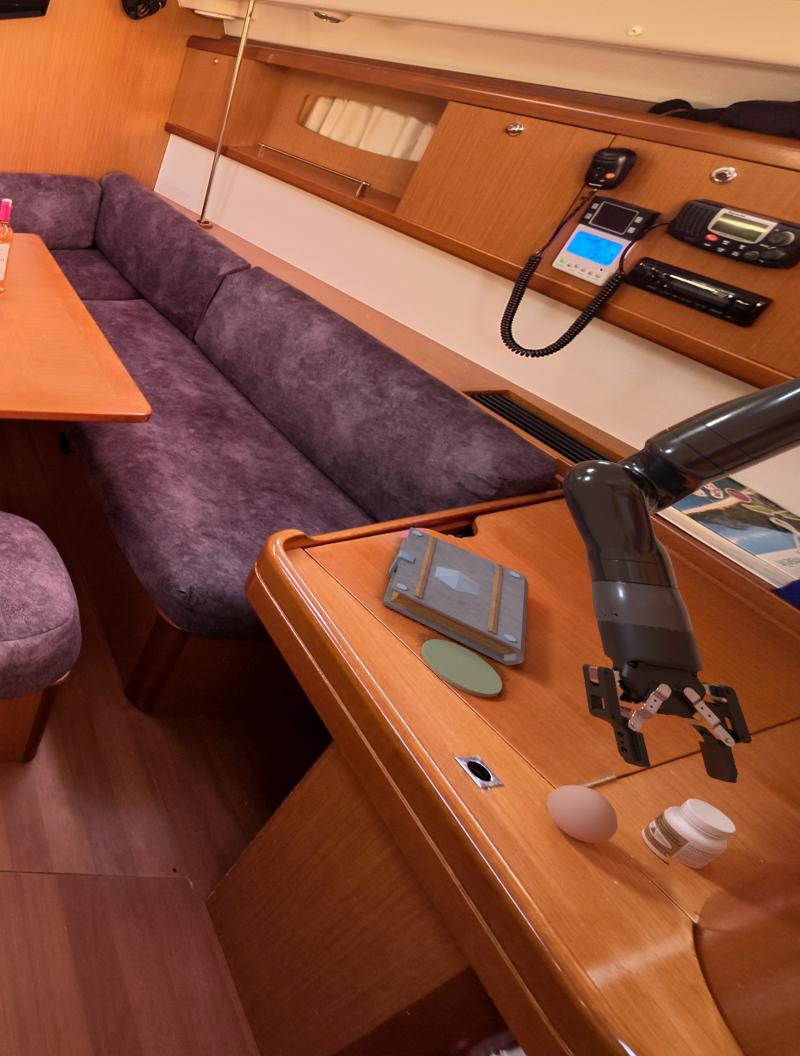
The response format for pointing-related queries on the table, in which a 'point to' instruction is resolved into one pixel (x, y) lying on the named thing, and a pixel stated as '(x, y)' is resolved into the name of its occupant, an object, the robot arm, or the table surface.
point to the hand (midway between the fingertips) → (679, 773)
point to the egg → (582, 813)
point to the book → (460, 596)
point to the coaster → (461, 668)
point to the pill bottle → (689, 833)
